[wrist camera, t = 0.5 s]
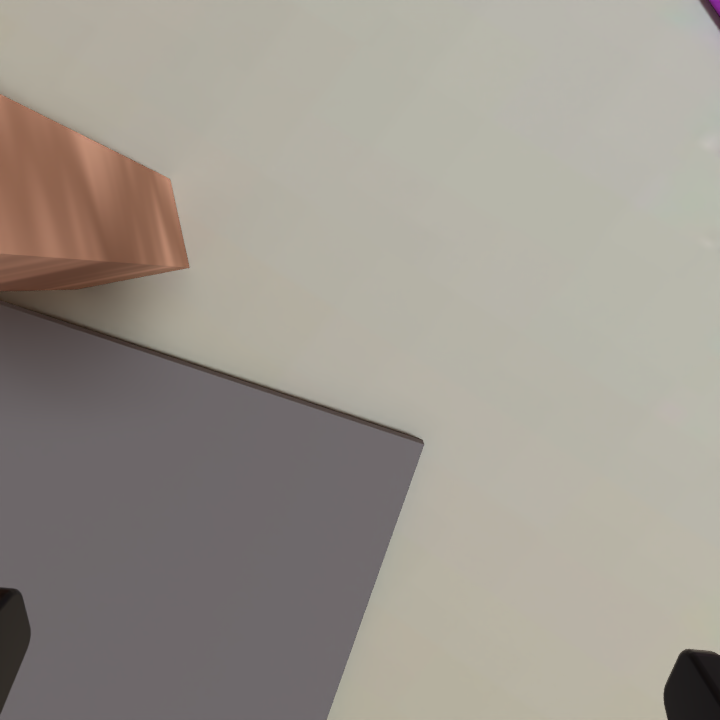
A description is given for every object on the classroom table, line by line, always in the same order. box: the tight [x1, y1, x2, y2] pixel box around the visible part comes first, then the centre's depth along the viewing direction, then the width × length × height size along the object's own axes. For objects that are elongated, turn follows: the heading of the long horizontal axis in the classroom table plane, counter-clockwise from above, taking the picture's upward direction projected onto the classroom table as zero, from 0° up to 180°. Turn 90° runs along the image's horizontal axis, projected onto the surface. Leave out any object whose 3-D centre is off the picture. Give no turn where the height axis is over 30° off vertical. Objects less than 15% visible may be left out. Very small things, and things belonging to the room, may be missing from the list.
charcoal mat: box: [0, 301, 424, 720], centre depth 23 cm, size 20×16×1 cm
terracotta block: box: [0, 94, 189, 291], centre depth 15 cm, size 3×4×13 cm
